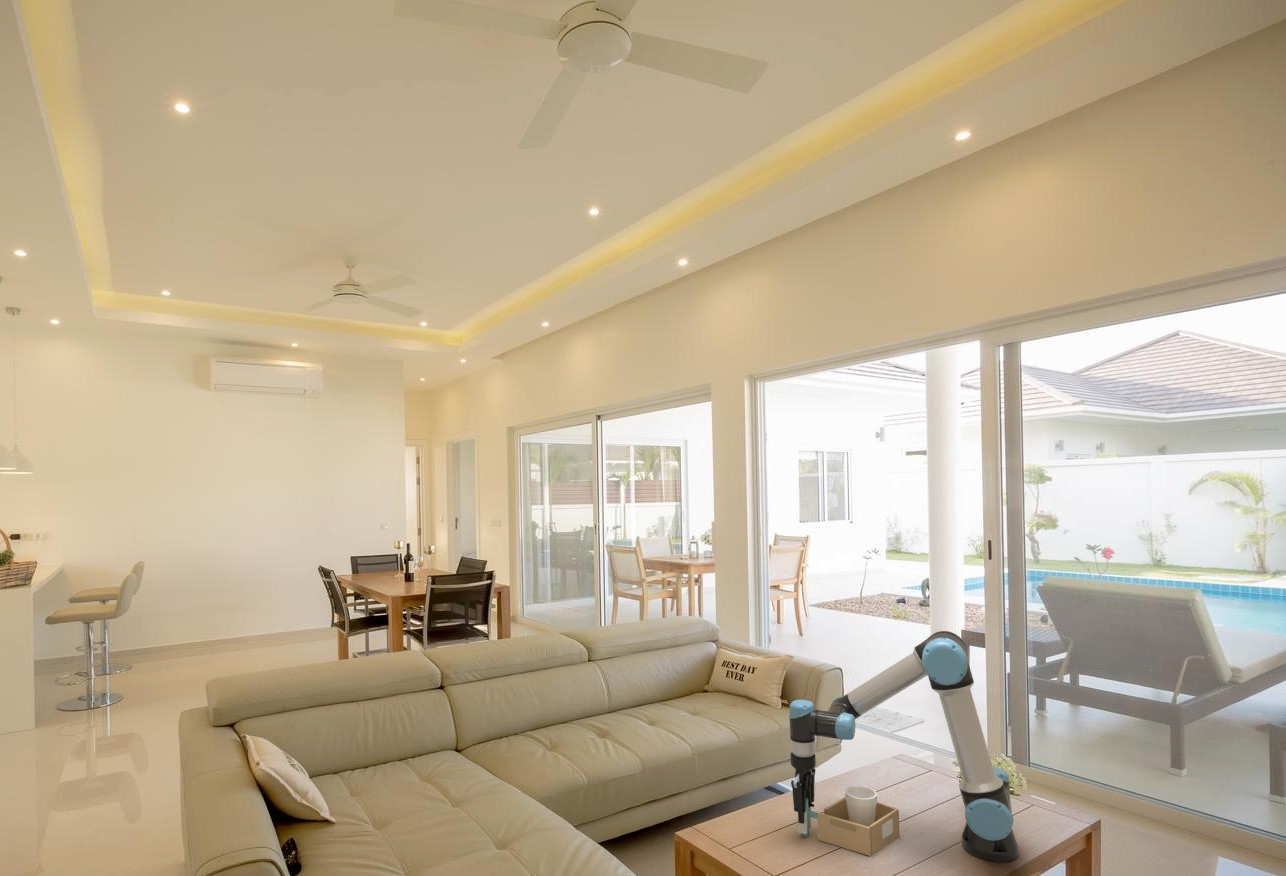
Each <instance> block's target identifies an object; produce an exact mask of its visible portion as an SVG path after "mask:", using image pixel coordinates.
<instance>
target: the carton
mask: <svg viewBox="0 0 1286 876" xmlns="http://www.w3.org/2000/svg"><path fill="white" fill-rule="evenodd" d="M823 810H824V813H823V814H826V815H830V816H833V817H836V818H840V819H843V820H847V821H849V815H848V809H847V802H846V798H845V797H842V798H841V799H839V800H837V801H836V802H834V803H832V804H829V806H827V807H825V808H823ZM869 827H870V835H871V856H873V855H874V854H876V853H877V852H879V851H880V850H882V849H883V848H885V847H886V846H888V845H889V844H890V843H892V842H893V841H895V840H896V839H898V838H899V837H900V835H901V834H900V809H898V808H896V807H893V806H890V805H888V804H885V803H882V802H879V801H877V804H876V813H875V822H874V823H873V824H871V825H870V826H869Z"/></svg>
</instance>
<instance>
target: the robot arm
mask: <svg viewBox="0 0 1286 876" xmlns="http://www.w3.org/2000/svg"><path fill="white" fill-rule="evenodd" d="M912 651H913V652H912V653H910V654H908V655H907V656H905V657H904V658H902V659H900V660H899V661H897V662H895V663H894V664H892V665H891V666H889V667H887V668H886V669H884V670H883V671H881V672H880V673H878V674H877V675H875V676H873V677H872V678H870V679H869V680H867V681H865V682H864V683H862V684H861V685H859V686H857V687H856V688H854V689H852V690H851V691H849V692H848V693H847V694H844V695H843V696H837V698H835V699H834V700H833V701H832V702H831V704H830V706H829V709H828V710H821V709H817V708H815V704H814V703H813V702H812V701H810V700H807V699H795V700H793V701H791V703H789V716H788V718H789V719H788V720H789V737H790V739H789V740H788V741H789V744H790V745H789V746H790V766H792V767H793V769H795V771H794V778H795V779H794V780H793V779H792V780H790V781H791V782H790V784H791V788H792V801H793V811H794V812H796V813H797V827H798V828H797V831H798V833H799V834H801V833H803V834H808V832H807V812H806V811H805V810H806V797H807V798H808V810H810V811H812V808H815V803H814V802H815V776H816V764H817V763H816V754H815V753H816V737H823V738H830V739H837V740H841V741H842V740H843V741H845V740H846V741H852V740H854V738H855V733H856V720H857V719H859V718H860V717H861V716H863V715H865V714H866V713H868V712H869V711H871V710H873V709H874V708H876V707H877V706H879V705H881V704H883V703H884V702H886V701H888V700H889V699H891V698H892V697H894V696H896V695H898V694H899V693H900V692H902V691H904V690H906V689H908V688H909V687H911V686H913V685H914V684H916V683H917V682H919V681H921V680H922V679H924V678H926V677H928V680H929V681H928V682H929V685H930V687H931V689H932V691H934V692H936V693H937V694H938V695H939V699H940V702H941V707H942V710H943V713H944V718H945V722H946V724H947V728H948V732H949V735H950V738H951V742H952V746H953V748H954V753H955V755H956V759H957V760H956V761H957V764H958V766H959V771H960V775H961V777H962V778H961V781H960V782H959V783H958V787H959V791H960V795H961V799H962V802H963V806H964V809H965V811H964V817H965V824H964V826H963V830H962V834H961V846H962V848H963V849H964V850H965V851H966V852H967V853H969V854H971V855H972V856H974V857H976V858H978V859H979V858H980V859H983V860H984V861H985V860H986V861H990V862H999V863H1005V862H1011V861H1014V860H1016V859H1017V858H1018V857H1019V855H1020V853H1019V852H1020V851H1019V843H1018V841H1017V838H1016V835H1015V833H1014V829H1013V825H1014V816H1013V811H1012V803H1011V793H1010V791H1011V790H1010V783H1011V782H1010V777H1009V773H1007V772H1006V771H1005V770H1004V769H1001V768H998V767H995V766H993V764H992V760H991V757H990V754H989V750H988V747H987V742H986V740H985V739H986V738H985V736H984V733H983V729H982V725H981V723H980V718H979V714H978V711H977V709H976V705H975V701H974V699H973V698H974V697H973V694H972V690H971V689H972V687H973V686H974V684H975V680H974V678H973V673H972V670H971V666H970V664H969V663H970V662H969V659H968V648H967V644H966V643H965V641H964V640H963V639H962V638H961V637H960V636H959V635H958V634H956V633H955V632H952V631H948V630H939V631H936V632H934V633H932V634H931V635H929V637H927V638H925V640H922V642H920V643H919V644H917V645H915V646H914V648H913V650H912ZM812 822H813V821H812V817H809V831H811V830H812V828H813V826H812Z"/></svg>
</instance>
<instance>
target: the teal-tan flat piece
mask: <svg viewBox="0 0 1286 876" xmlns="http://www.w3.org/2000/svg"><path fill="white" fill-rule="evenodd" d="M805 811H806V812H807V832H808V834H803V833H800V835H801V836H802V837H809V836H810V830H809V817H811V819H816V820H817V838H818V839H817V840H818V841H821V842H824V843H828V844H831V845H833V846H837V847H840V848H844V849H847V850H850V851H853V852H856V853H859V854H863V855H865V856H869V857H871V856H872V855H871V835H870V827H867V826H864V825H860V824H857V823H854V822H850V821H847V820H843V819H840V818H836V817H833V816H830V815H826V814H824V813H822V812H815V811H813V810H811V811H810V810H808V798H807V797H806V810H805Z"/></svg>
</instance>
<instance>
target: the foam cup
mask: <svg viewBox="0 0 1286 876" xmlns="http://www.w3.org/2000/svg"><path fill="white" fill-rule="evenodd" d="M844 792H845V793H844V794H845V795H844V796H845V798H846V802H847V809H848V815H849V821H850V822H854V823H857V824H860V825H864V826H867V827H869V826H870V825H871V824H873V823H874V822H875V813H876V804H877V802H878V795H877V791H875V790H874V789H872V788H870V787H867V786H862V785H852V786H848V787H847V788H845V791H844Z"/></svg>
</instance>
